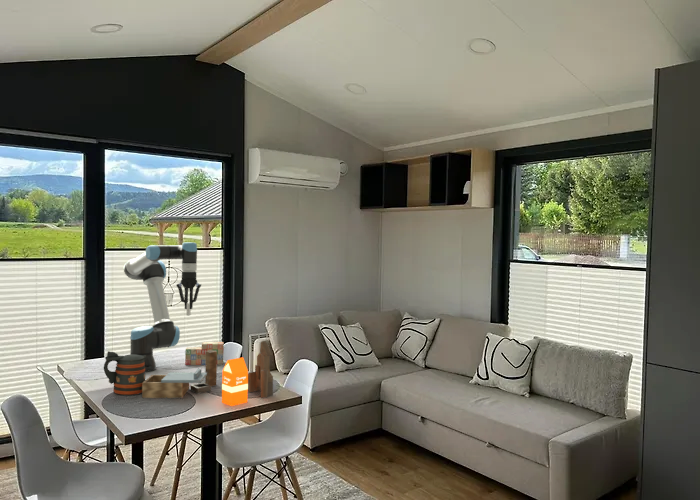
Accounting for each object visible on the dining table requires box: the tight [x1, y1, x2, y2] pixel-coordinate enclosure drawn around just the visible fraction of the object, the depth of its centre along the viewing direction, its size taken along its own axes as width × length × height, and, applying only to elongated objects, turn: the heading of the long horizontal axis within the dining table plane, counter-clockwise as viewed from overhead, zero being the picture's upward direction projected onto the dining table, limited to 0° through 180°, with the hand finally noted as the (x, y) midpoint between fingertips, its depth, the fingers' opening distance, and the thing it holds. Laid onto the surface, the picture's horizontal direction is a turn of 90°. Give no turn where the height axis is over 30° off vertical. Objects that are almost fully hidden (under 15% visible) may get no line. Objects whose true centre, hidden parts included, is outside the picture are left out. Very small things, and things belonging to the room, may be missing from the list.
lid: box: [161, 367, 207, 384], centre depth 254 cm, size 18×14×4 cm
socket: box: [189, 382, 212, 394], centre depth 260 cm, size 7×7×2 cm
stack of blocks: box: [184, 341, 225, 366], centre depth 314 cm, size 21×6×12 cm, turn 100°
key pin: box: [204, 350, 218, 387], centre depth 270 cm, size 4×4×17 cm
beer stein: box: [103, 350, 146, 396], centre depth 255 cm, size 19×15×20 cm
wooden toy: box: [248, 340, 274, 399], centre depth 258 cm, size 15×7×25 cm, turn 42°
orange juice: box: [221, 357, 249, 407], centre depth 243 cm, size 8×9×20 cm
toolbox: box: [141, 374, 190, 399], centre depth 254 cm, size 18×14×7 cm
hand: (188, 315), depth 286 cm, fingers closed
